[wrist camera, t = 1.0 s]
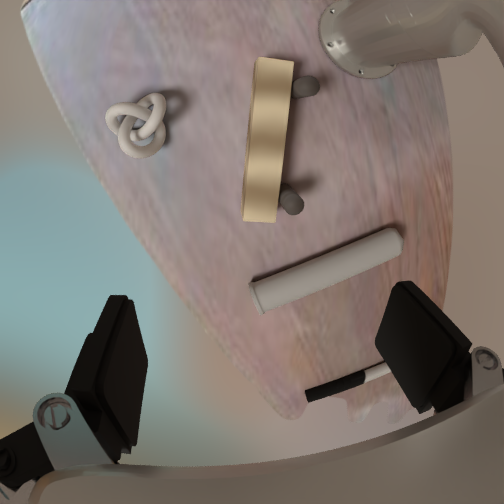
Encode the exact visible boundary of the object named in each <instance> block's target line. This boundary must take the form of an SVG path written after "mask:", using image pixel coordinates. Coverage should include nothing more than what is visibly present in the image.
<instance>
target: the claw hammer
mask: <svg viewBox="0 0 504 504" xmlns="http://www.w3.org/2000/svg"><path fill="white" fill-rule="evenodd" d="M390 372H391V370H390V368H389V367H388V365H387V364H386V362H384V363H382V364H380V365H377V366H375V367H372V368H370V369H367V370H363V371H360V372H358V373H355V374H352V375H350V376H347V377H344V378H341V379H338V380H335V381H332V382H329V383H326V384H323V385H320V386H317V387H314V388H311V389H308V390H305V394H306V398H307V401H308V403H309V402H312V401H315V400H318V399H322V398H325V397H328V396H331V395H334V394H337V393H340V392H342V391H345V390H348V389H351V388H354V387H356V386H359V385H361V384H363V383H365V382H368V381H370V380H373V379H375V378H378V377H380V376H383V375H385V374H387V373H390Z"/></svg>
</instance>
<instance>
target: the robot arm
mask: <svg viewBox="0 0 504 504" xmlns="http://www.w3.org/2000/svg"><path fill="white" fill-rule="evenodd" d="M318 32H319V38H320V41H321V44H322V47H323V48H324V50H325V52H326V54H327V55H328V56H329V58H330V59H331V60H332V61H333V62H334V63H335V64H336V65H337V66H338V67H339V68H341V69H342V70H343V71H345V72H347V73H349V74H351V75H353V76H356V77H359V78H364V79H375V78H381V77H383V76H386V75H388V74H389V73H390V72H392V71H393V70H394V69H395V67H396V66H397V64H399V63H405V62H412V61H419V60H427V59H436V58H446V57H456V56H461V55H463V54H466V53H468V52H469V51H470V50H472V49H473V48H474V47H475V45H476V44H477V43H478V41H479V39H480V37H481V35H482V32H483V33H484V34H485V36H486V37H487V39H488V40H489V42H490V43H491V45H492V47H493V49H494V50H495V52H496V53H497V55H498V57H499V59H500V61H501V63H502V65H503V67H504V0H340V1H338V2H335V3H333V4H332V5H330V6H329V7H328V8H327V9H326V10H325V11H324V12H323V14H322V15H321V18H320V21H319V27H318ZM327 44H328V45H329V46H330V47H328V46H327ZM359 71H360V73H359ZM471 345H472V343H471V342H470V341H469V339H468V338H467V337H466V336H465V335H464V334H463V333H462V332H461V331H460V329H459V328H458V327H457V326H456V325H455V324H454V323H453V322H452V321H451V320H450V319H449V318H448V317H447V316H446V315H445V314H444V313H443V312H442V311H441V309H440V308H439V307H438V306H437V305H436V304H435V303H434V302H433V301H432V300H431V299H430V298H429V297H428V296H427V295H426V294H425V293H424V292H423V291H422V290H421V289H420V288H418V287H417V286H416V285H415V284H414V283H413V282H412V281H400V282H397V283H396V284H395V286H394V287H393V288H392V290H391V294H390V297H389V300H388V303H387V306H386V309H385V312H384V315H383V318H382V321H381V324H380V327H379V330H378V333H377V335H376V338H375V346H376V348H377V349H378V351H379V353H380V354H381V356H382V357H383V359H384V360H385V362H386V364H387V365H388V367H389V368H390V370H391V372H392V373H393V375H394V377H395V378H396V380H397V381H398V383H399V385H400V386H401V388H402V390H403V391H404V393H405V395H406V396H407V398H408V400H409V401H410V403H411V405H412V406H413V407H414V408H416V409H417V410H418V412H419V414H421V413H423V412H426V411H428V410H430V409H431V408H432V406H433V407H434V408H435V410H434V415H433V416H431V417H429V418H427V419H424V420H422V421H420V422H417V423H415V424H412V425H410V426H407V427H405V428H402V429H399V430H397V431H394V432H391V433H388V434H385V435H382V436H379V437H376V438H373V439H370V440H366V441H363V442H360V443H356V444H353V445H349V446H345V447H341V448H338V449H334V450H329V451H325V452H320V453H316V454H311V455H306V456H300V457H295V458H289V459H282V460H276V461H268V462H260V463H251V464H239V465H224V466H199V467H172V466H146V465H127V464H120V463H119V462H118V460H120V458H121V453H126V454H131V448H132V446H136V444H137V438H138V429H139V422H140V414H141V407H142V400H143V393H144V386H145V380H146V374H147V368H148V358H147V354H146V351H145V347H144V343H143V339H142V335H141V331H140V327H139V324H138V319H137V315H136V311H135V306H134V302H133V301H132V300H128V297H127V296H126V295H110V296H109V298H108V300H107V302H106V304H105V307H104V309H103V311H102V313H101V315H100V318H99V320H98V322H97V324H96V327H95V329H94V331H93V333H90V334H88V336H87V337H86V339H85V342H84V344H83V346H82V349H81V351H80V354H79V356H78V359H77V361H76V364H75V366H74V369H73V371H72V374H71V376H70V380H69V382H68V385H67V387H66V390H65V393H64V394H62V393H51V394H48V395H46V396H44V397H43V398H42V399H40V400H39V401H38V402H37V404H36V405H35V407H34V410H33V422H32V423H30V424H28V425H26V426H24V427H23V428H21V429H19V430H17V431H16V432H13V433H11V434H10V435H8V436H6V437H4V438H2V439H0V504H504V369H503V368H502V366H501V362H500V359H499V357H498V355H497V354H496V353H495V352H493V351H492V350H491V349H489V348H486V347H482V346H480V347H476V348H474V349H473V351H472V353H471V354H470V353H469V349H470V347H471Z"/></svg>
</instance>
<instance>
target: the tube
mask: <svg viewBox="0 0 504 504" xmlns="http://www.w3.org/2000/svg"><path fill="white" fill-rule="evenodd" d="M403 244H404V240H403V239H402V237H401V236H400V234H399V233H398V231H397V230H396V228H386V229H384V230H382V231H379V232H377V233H375V234H372V235H370V236H367V237H365V238H363V239H360V240H358V241H356V242H353V243H351V244H349V245H346V246H344V247H341V248H339V249H337V250H334V251H332V252H329V253H327V254H324V255H322V256H320V257H317V258H315V259H312V260H310V261H307V262H305V263H302V264H300V265H297V266H295V267H292V268H290V269H287V270H285V271H282V272H280V273H277V274H275V275H272V276H270V277H267V278H264V279H262V280H259V281H257V282H254V283H253V282H250V283H248V285H249V289H250V293H251V295H252V298H253V301H254V303H255V306H256V308H257V310H258V312H259V314H260V315H263V314H264V313H265V312H266V311H269V310H272V309H274V308H277V307H279V306H282V305H284V304H287V303H290V302H292V301H295V300H297V299H300V298H302V297H305V296H307V295H310V294H312V293H314V292H317V291H319V290H322V289H324V288H326V287H329V286H331V285H334V284H336V283H338V282H341V281H343V280H345V279H348V278H350V277H352V276H354V275H357V274H359V273H361V272H364V271H366V270H368V269H370V268H372V267H375V266H377V265H379V264H381V263H383V262H386V261H388V260H390V259H392V258H394V257H396V256H398V255H400V254H401V252H402V250H403Z"/></svg>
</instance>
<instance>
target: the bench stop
mask: <svg viewBox="0 0 504 504" xmlns="http://www.w3.org/2000/svg"><path fill="white" fill-rule="evenodd" d="M293 65H294V62H292V61H286V60H279V59H272V58H265V57H259V58H258V59H257V60H256V62H255V64H254V73H253V83H252V93H251V103H250V113H249V123H248V134H247V145H246V155H245V166H244V178H243V189H242V201H241V214H242V218H243V221H252V222H272V223H275V221H276V213H277V205H278V201H279V202H280V204H281V205H282V206H283V208H284V209H285V211H286V212H287V213H288V214H290V215H297V214H299V213H300V212H301V211H302V210H303V208H304V201H303V199H302V198H301V197H300V196H299V195H298V194H297V193H296V192H295V191H294V190H293V189H292V188H291V187H290V186H289V185H288V184H285V183H283V184H280V181H281V173H282V165H283V157H284V148H285V140H286V131H287V122H288V113H289V104H290V97H291V98H294V99H297V98H303V97H309V96H314V95H316V94H317V93H318V91H319V89H320V85H319V82H318V80H317V79H316V78H314V77H312V76H304V77H302V78H299V79H297V80H295V81H292V75H293Z"/></svg>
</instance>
